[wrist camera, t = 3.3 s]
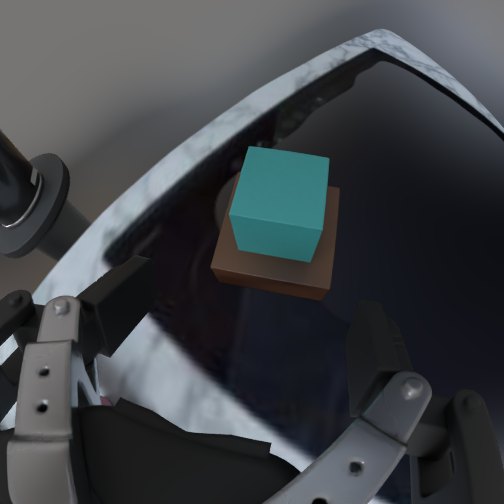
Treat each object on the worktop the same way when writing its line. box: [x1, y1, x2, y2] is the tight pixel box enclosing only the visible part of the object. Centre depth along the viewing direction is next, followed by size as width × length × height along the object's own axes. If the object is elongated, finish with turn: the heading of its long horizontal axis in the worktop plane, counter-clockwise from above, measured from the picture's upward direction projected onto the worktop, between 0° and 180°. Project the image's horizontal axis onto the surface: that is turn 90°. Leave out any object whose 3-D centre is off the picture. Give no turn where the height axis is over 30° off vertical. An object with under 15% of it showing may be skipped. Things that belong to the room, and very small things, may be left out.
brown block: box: [211, 172, 340, 301], centre depth 24 cm, size 9×9×4 cm
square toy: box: [229, 146, 329, 263], centre depth 20 cm, size 6×6×6 cm
